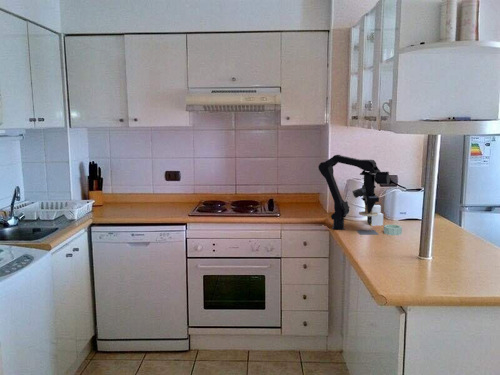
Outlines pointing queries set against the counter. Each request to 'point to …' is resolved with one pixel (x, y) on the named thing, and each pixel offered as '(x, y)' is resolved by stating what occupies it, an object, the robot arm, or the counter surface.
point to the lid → (365, 213)
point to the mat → (367, 232)
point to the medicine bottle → (376, 219)
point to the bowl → (392, 229)
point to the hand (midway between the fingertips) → (368, 212)
